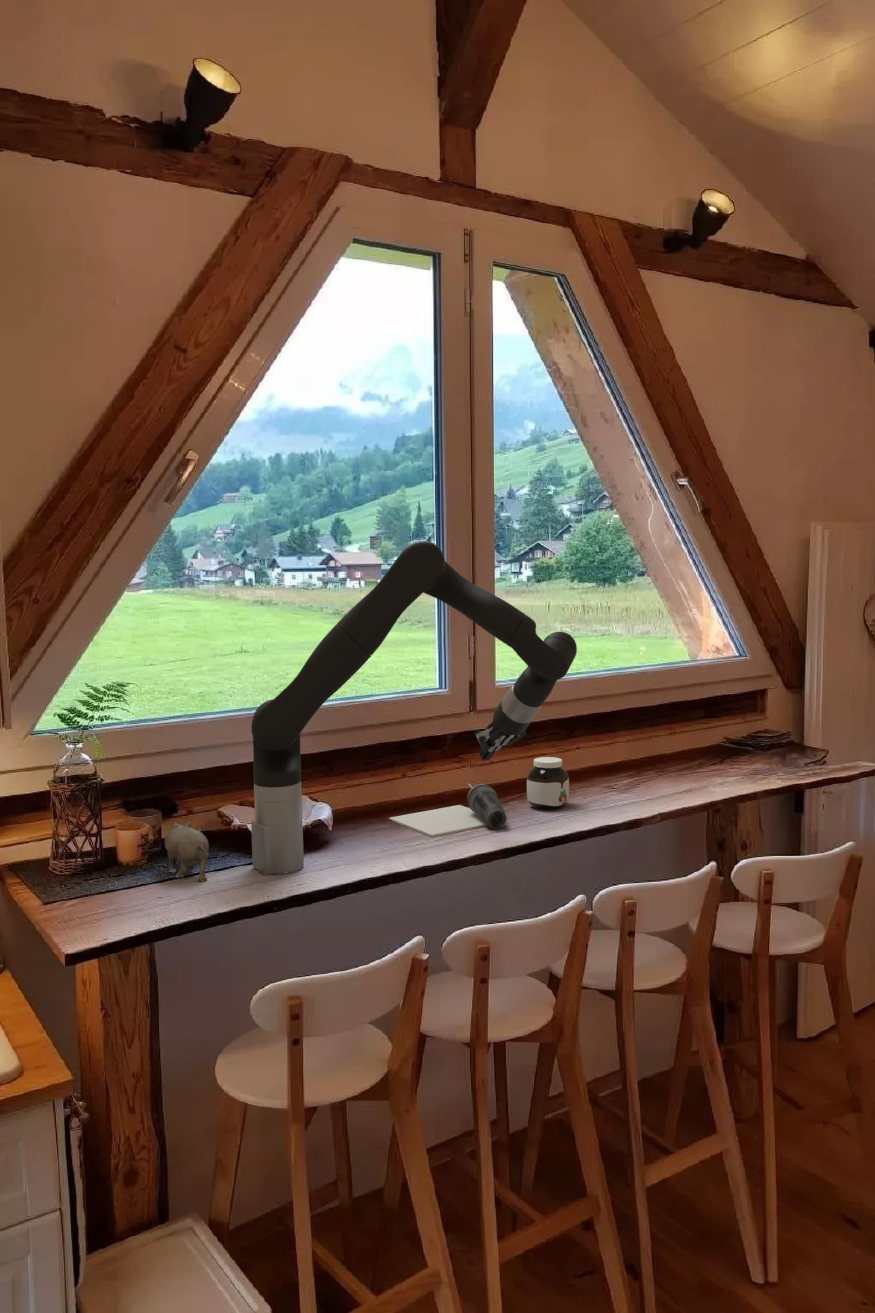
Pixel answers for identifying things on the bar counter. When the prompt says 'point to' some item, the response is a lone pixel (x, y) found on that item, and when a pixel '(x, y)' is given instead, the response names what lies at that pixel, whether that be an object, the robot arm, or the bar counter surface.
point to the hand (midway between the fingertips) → (483, 757)
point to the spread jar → (547, 784)
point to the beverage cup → (486, 805)
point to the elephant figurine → (187, 848)
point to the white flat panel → (441, 820)
